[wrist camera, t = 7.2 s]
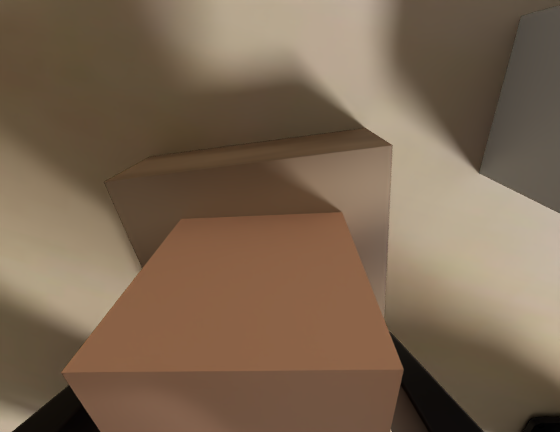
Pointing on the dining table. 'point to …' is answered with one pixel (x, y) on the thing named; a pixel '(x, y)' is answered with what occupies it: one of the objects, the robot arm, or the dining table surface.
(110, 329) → the terracotta cube
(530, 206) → the dining table surface
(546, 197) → the slate grey cube
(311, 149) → the tan block
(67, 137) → the dining table surface
